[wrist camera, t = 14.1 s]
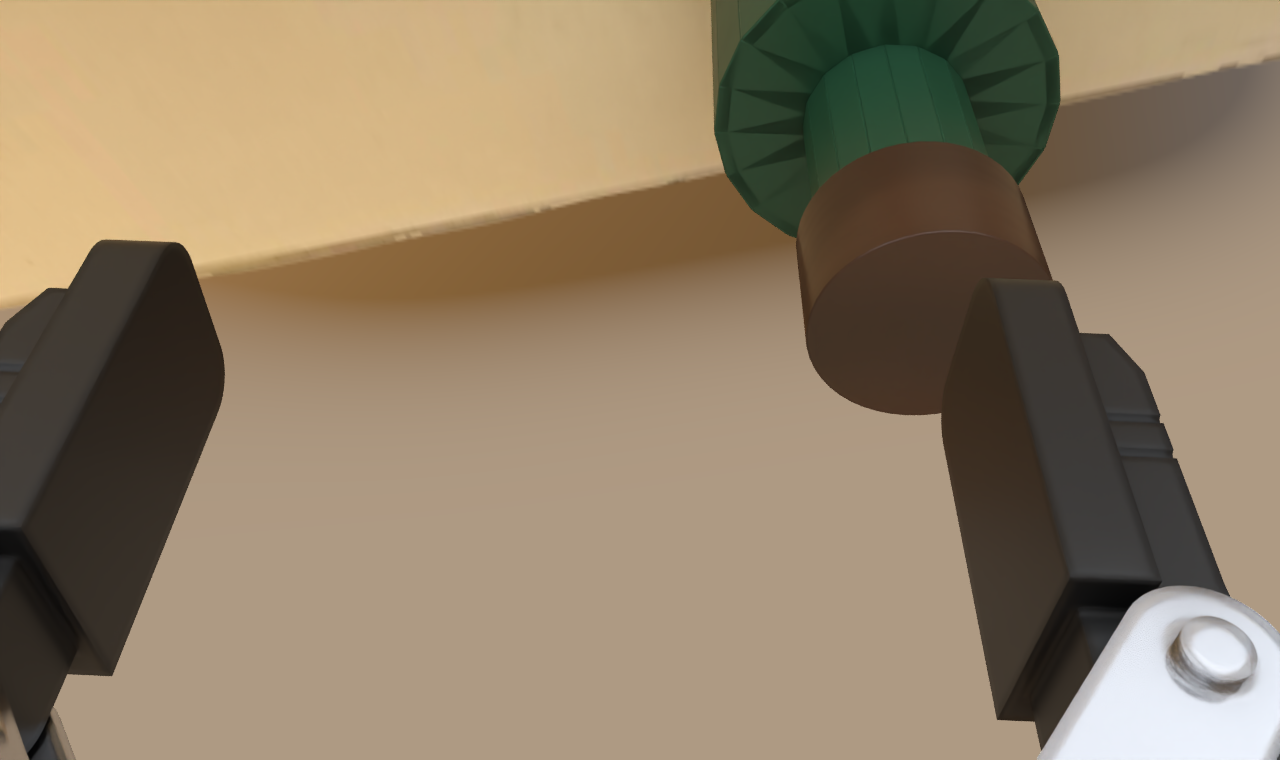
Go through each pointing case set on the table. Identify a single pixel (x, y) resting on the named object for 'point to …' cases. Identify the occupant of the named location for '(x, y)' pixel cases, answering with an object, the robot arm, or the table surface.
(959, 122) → the bottle
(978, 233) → the stopper
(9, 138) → the table surface
